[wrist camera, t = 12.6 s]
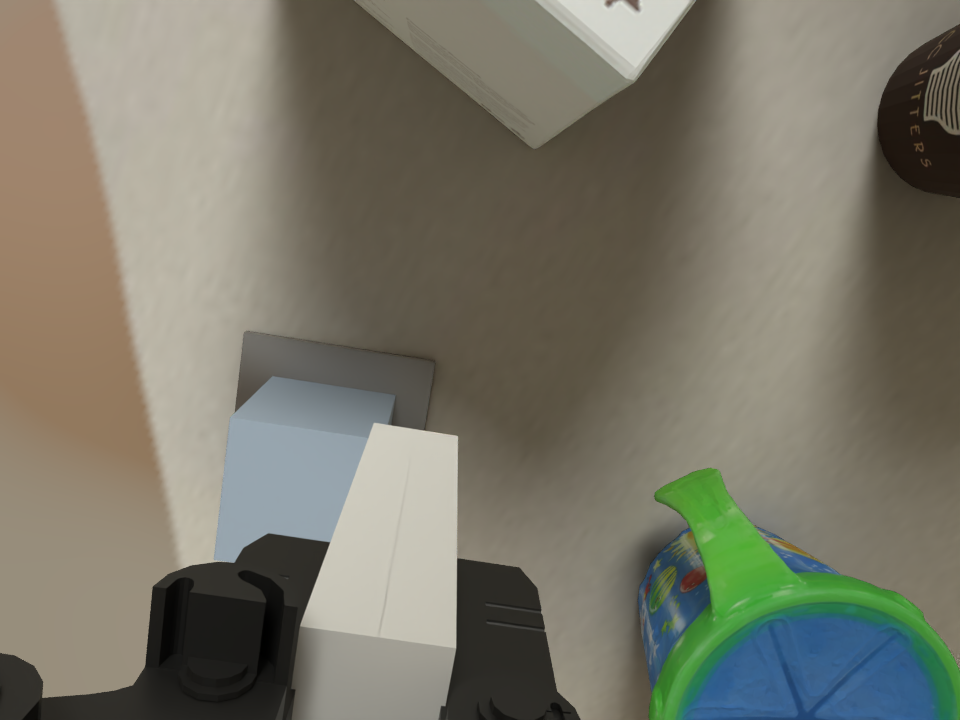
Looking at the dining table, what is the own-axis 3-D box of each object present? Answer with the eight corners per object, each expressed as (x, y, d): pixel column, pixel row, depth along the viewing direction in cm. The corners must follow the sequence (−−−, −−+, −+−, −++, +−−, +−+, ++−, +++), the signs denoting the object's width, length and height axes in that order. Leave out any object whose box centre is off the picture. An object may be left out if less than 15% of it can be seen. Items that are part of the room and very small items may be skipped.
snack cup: (557, 472, 35) (602, 578, 25) (786, 399, 35) (924, 477, 25) (649, 766, 38) (722, 967, 28) (860, 701, 38) (1010, 879, 28)
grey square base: (246, 331, 33) (209, 353, 28) (435, 360, 34) (433, 388, 29) (225, 509, 34) (187, 562, 29) (407, 535, 35) (400, 590, 30)
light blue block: (272, 376, 33) (230, 417, 27) (395, 395, 33) (383, 440, 27) (258, 492, 34) (213, 559, 28) (378, 509, 34) (362, 579, 28)
